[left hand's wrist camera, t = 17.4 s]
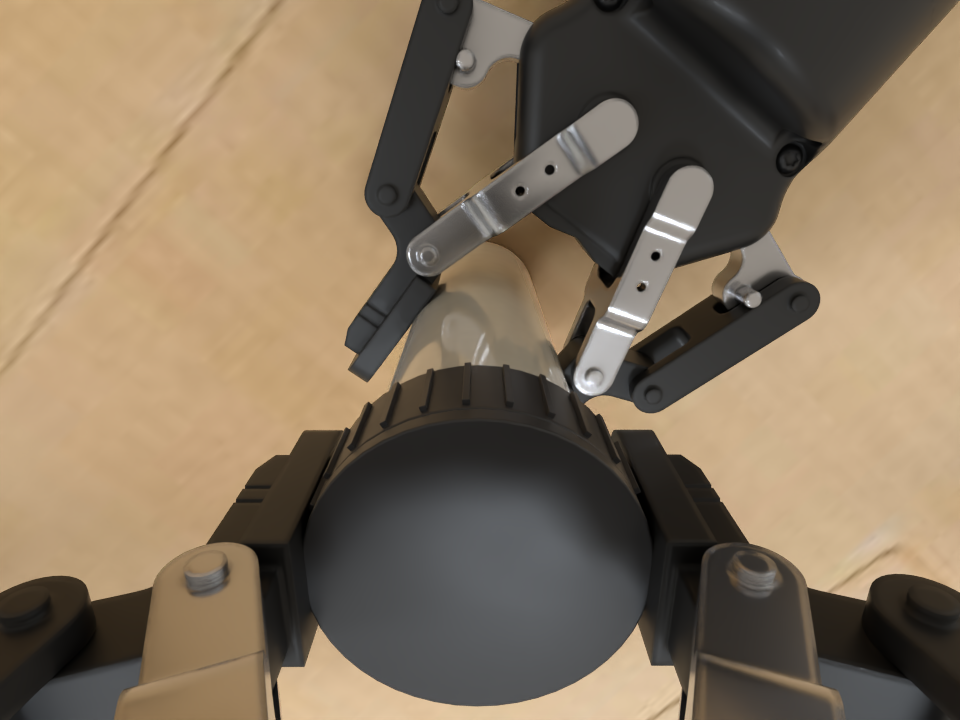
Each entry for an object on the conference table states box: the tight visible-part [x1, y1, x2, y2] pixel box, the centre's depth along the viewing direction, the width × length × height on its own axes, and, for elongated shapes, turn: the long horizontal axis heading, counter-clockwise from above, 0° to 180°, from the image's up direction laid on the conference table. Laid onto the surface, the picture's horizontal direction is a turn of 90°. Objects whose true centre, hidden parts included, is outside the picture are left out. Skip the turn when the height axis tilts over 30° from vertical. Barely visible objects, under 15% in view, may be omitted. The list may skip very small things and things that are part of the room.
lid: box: [303, 362, 653, 706], centre depth 10 cm, size 6×6×2 cm
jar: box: [387, 242, 570, 393], centre depth 17 cm, size 4×4×16 cm
